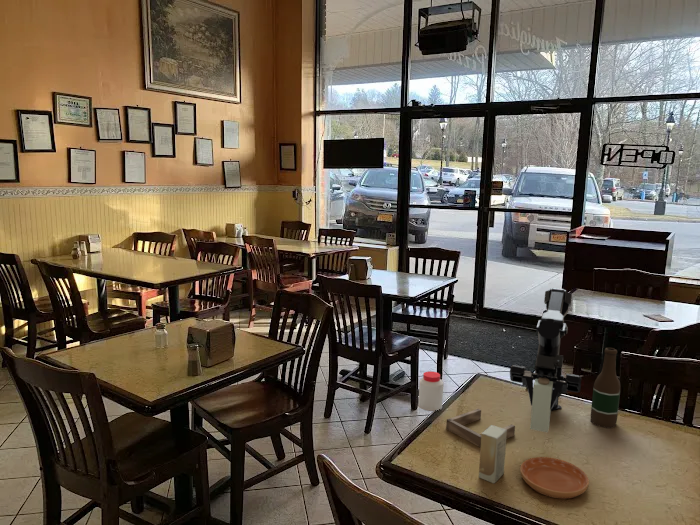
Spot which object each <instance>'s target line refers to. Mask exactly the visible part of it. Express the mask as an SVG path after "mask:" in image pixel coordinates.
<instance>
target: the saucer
mask: <svg viewBox="0 0 700 525" xmlns="http://www.w3.org/2000/svg"><path fill="white" fill-rule="evenodd" d="M519 470H520V477H521V478H522V479H523V480H524V482H525V483H526V484H527V485H528V486H529V487H530V488H531V489H533V490H534V491H536V492H537V493H540V494H541V495H544V496H547V497H550V498H554V499H561V500H563V499H573V498H575V497H578V496H580V495H583V493H585V492H586V491H587V490H588V488H589V484H590V480H589V477H588V475H587V474H586V473H585V471H583V469H581V468H580V467H579V466H577V465H575V464H573V463H570V462H568V461H566V460H562V459H561V458H560V459H559V458H555V457H549V456H548V457H547V456H546V457H545V456H539V457H538V456H537V457H531V458H528V459H526V460H524V461H523V462H522V463H521V464H520V468H519Z"/></svg>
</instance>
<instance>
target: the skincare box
mask: <svg viewBox="0 0 700 525" xmlns="http://www.w3.org/2000/svg"><path fill="white" fill-rule="evenodd" d="M503 428H504V427H501V426H496V425H494V424H493V425H492V424H490V425H489V426H488V427H487V428H486V429H484V431H482V432H481V433H480V435H481V448H480V453H479V469H478V478H479V479H482V480H484V481H487V482H489V483H491V484H495V483H496V482H497V481H498V480H499V479H500V478H501V477H502V476H503V474H504V473H505V462H506V448H507V439H506V435H507V430H506V429H503Z"/></svg>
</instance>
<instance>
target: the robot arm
mask: <svg viewBox="0 0 700 525" xmlns="http://www.w3.org/2000/svg"><path fill="white" fill-rule="evenodd" d="M572 294H573V293H570V292H568V291H567V290H566V289H564V288H554V287H552V288H550V289H548V290H546V291H545V292H544V300H543V301H544V302H543V303H544V305H545V308H546V312H545V311H544V312H543V313H542V314H541V316H540V317H541V318H540V319H538V320H537V321H538V322H537V325H536V333H538V334H537V336H538V347H537V348H538V349H537V355H536V358H535V359H536V360H535V361H534V362H535V363H534V368H533V369H534V372H533V371H530V370H527V369H526V366H522V365H516V364H512V365H511V366H510V368H509V369H510V370H509V380H510V381H511V382H514V383H519V384H522V386H523V387H526V388H525V389H526V390H527V393H528V396H529V403H530V406H531V407H532V401H533V389H534V381H535V379H538V378H547V379H549V381H553V388H552V399H551V405H550V409H551V411H550V412H552V411H555V410H559V409H562V408H563V407H562V405H560V404H559V399H560V397H561V395H562V394H566V393H567V391H568V392H572V393H580V392H581V389H582V388H581V387H582V377H581V376H580V375H578V374H572V373H566V374H565V377H564V374H562V373H563V370H562V368H563V364H564V363H563V361H564V355H560V347H561V339H562V338H563V337H564V336H566V335H567V334H568V330H569V329H568V326H567V323H566V322H565V317H566V315H568V313H569V309H570V308H571V307H572V300H573V299H572V298H573V295H572Z"/></svg>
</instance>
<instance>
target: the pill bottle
mask: <svg viewBox="0 0 700 525" xmlns="http://www.w3.org/2000/svg"><path fill="white" fill-rule="evenodd" d="M443 394H444V382H443V380H442V379H441V374H440V373H439V372H436V371H425V372H423V375H422V378H420V380H419V386H418V407H419V408H420V409H422V410H424V411H427V412H438V411H440V410H442V408H443V399H444V398H443V396H444V395H443ZM437 409H438V411H437ZM439 409H440V410H439ZM435 410H436V411H435Z"/></svg>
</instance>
